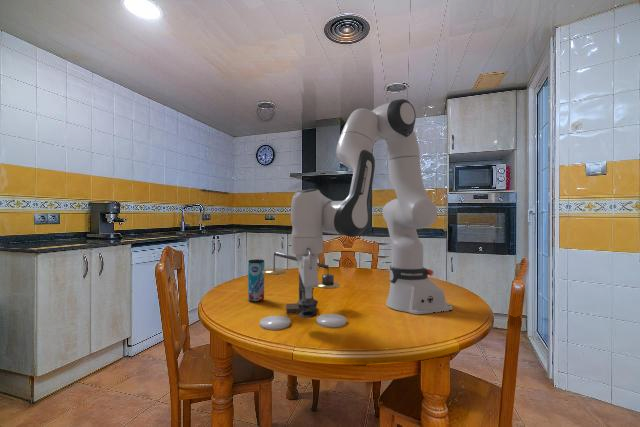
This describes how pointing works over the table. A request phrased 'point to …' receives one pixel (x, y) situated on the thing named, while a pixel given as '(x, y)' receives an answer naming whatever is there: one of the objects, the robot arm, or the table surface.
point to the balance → (325, 284)
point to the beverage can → (255, 280)
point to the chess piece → (307, 305)
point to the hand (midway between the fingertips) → (307, 295)
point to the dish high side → (275, 322)
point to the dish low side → (331, 320)
